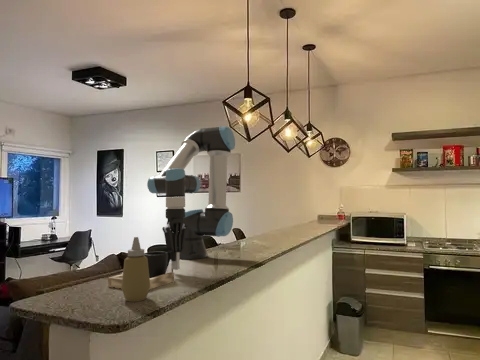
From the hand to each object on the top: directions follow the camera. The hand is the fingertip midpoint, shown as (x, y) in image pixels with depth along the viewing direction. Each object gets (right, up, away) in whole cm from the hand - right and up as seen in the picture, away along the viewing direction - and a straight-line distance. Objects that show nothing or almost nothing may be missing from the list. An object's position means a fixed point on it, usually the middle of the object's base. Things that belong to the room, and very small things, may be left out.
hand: (175, 269), depth 140 cm
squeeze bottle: (-5, -1, -35) cm, 35 cm away
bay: (-8, -1, -15) cm, 17 cm away
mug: (-4, -2, -8) cm, 9 cm away
